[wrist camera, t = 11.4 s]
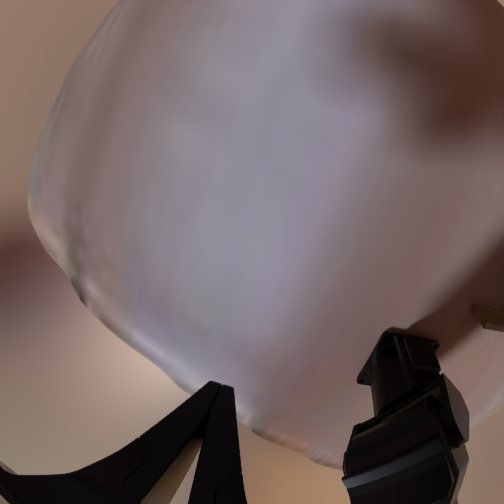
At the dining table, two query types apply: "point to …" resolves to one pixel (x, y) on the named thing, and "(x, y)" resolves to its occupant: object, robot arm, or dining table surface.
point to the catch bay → (489, 317)
